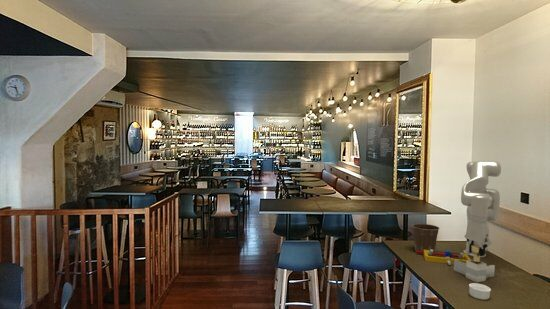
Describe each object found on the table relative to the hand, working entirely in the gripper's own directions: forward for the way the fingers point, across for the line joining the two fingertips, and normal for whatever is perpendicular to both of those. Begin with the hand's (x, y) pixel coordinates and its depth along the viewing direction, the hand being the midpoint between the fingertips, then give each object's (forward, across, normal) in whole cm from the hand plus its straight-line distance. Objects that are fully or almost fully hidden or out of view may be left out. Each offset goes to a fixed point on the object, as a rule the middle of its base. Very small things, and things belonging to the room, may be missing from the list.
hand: (476, 253), depth 185 cm
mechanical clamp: (+14, -27, +8) cm, 32 cm away
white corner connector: (+13, -5, +5) cm, 15 cm away
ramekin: (+14, +15, -16) cm, 26 cm away
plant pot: (+14, -45, +10) cm, 48 cm away
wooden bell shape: (+7, 0, 0) cm, 7 cm away
